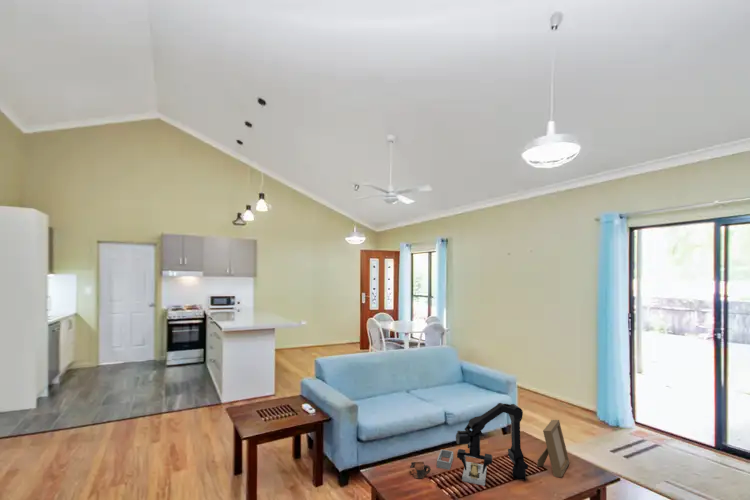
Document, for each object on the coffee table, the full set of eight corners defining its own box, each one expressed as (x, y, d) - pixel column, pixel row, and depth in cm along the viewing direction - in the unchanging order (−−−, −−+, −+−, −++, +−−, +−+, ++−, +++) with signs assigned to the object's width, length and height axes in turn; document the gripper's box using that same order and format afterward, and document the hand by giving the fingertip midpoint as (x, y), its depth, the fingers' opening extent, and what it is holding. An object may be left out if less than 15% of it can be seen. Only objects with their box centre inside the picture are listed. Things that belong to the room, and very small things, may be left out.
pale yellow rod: (478, 478, 214) (478, 463, 214) (477, 482, 210) (477, 467, 210) (470, 476, 215) (471, 462, 215) (470, 480, 211) (470, 465, 212)
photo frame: (569, 464, 233) (568, 422, 235) (561, 478, 216) (561, 433, 217) (543, 456, 242) (543, 416, 244) (534, 470, 225) (534, 426, 226)
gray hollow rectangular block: (453, 458, 236) (453, 451, 236) (449, 469, 222) (449, 462, 222) (441, 455, 239) (441, 449, 239) (436, 467, 224) (436, 460, 225)
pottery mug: (408, 479, 212) (407, 462, 216) (413, 479, 219) (412, 463, 224) (429, 477, 208) (428, 460, 213) (434, 478, 216) (432, 461, 220)
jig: (486, 469, 223) (486, 465, 223) (484, 485, 206) (484, 481, 206) (465, 465, 227) (465, 461, 227) (462, 481, 210) (462, 476, 210)
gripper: (492, 440, 218) (492, 468, 217) (459, 434, 224) (459, 462, 223) (491, 448, 208) (491, 478, 207) (457, 442, 214) (456, 471, 213)
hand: (474, 471), depth 213 cm, fingers open, 9 cm apart
